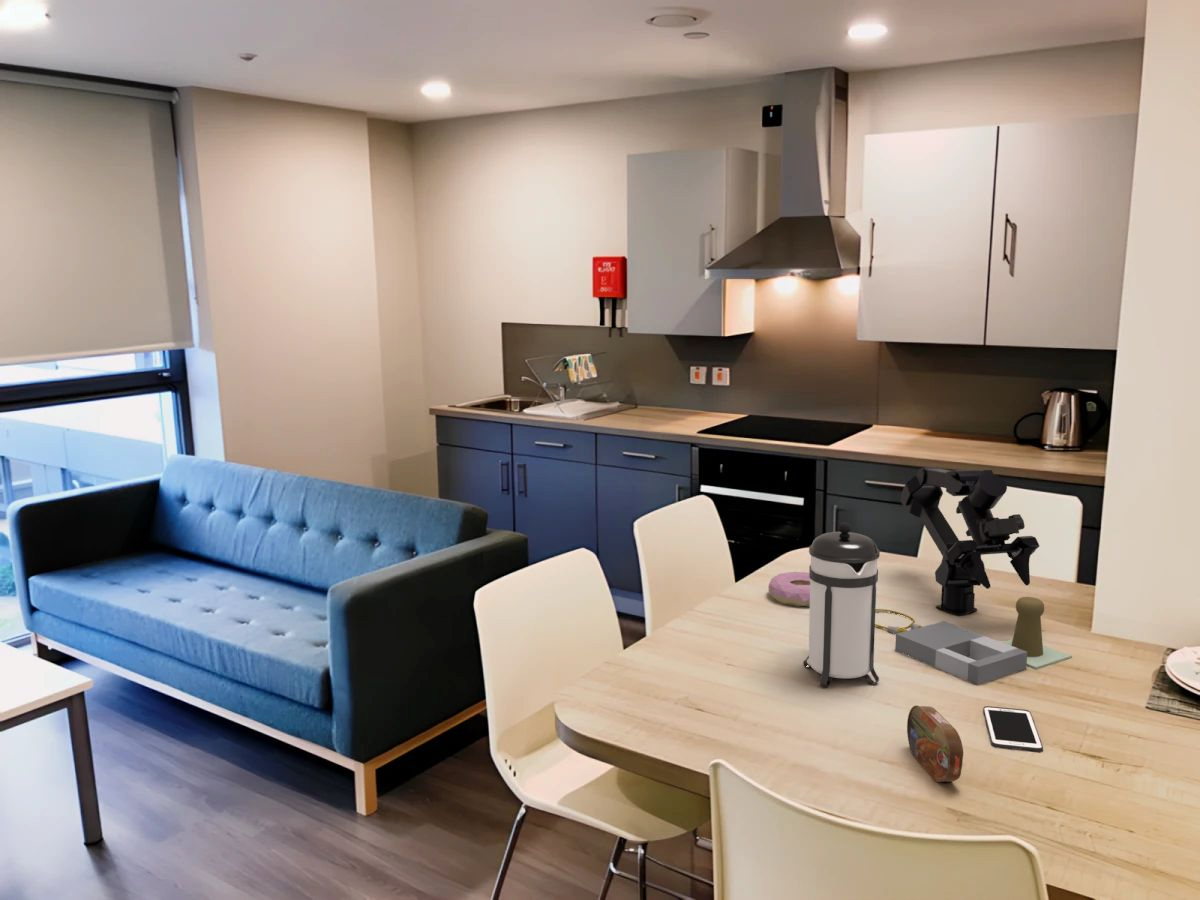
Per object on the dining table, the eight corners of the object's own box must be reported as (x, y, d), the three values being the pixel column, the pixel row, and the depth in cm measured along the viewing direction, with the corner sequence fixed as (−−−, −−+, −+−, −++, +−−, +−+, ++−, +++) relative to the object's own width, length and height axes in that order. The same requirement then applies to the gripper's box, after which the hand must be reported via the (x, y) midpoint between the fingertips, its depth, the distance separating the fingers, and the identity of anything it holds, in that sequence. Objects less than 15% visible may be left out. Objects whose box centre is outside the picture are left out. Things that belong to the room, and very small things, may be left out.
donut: (767, 587, 239) (767, 568, 238) (830, 589, 237) (831, 569, 236) (769, 609, 224) (769, 588, 223) (837, 611, 222) (838, 590, 221)
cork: (1026, 643, 199) (1030, 592, 197) (1050, 654, 193) (1054, 601, 191) (1003, 648, 196) (1007, 596, 195) (1026, 658, 191) (1030, 605, 189)
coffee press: (897, 671, 187) (903, 519, 181) (856, 698, 175) (862, 537, 170) (817, 649, 198) (821, 506, 193) (774, 673, 187) (777, 521, 182)
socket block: (895, 650, 197) (895, 633, 197) (943, 637, 204) (943, 621, 204) (977, 684, 180) (978, 667, 180) (1026, 669, 187) (1027, 651, 186)
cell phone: (991, 749, 157) (991, 743, 156) (982, 710, 171) (982, 705, 170) (1043, 754, 155) (1044, 749, 154) (1029, 715, 169) (1030, 709, 168)
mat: (983, 649, 197) (983, 647, 197) (1019, 638, 203) (1019, 636, 203) (1035, 669, 187) (1036, 667, 187) (1071, 657, 192) (1072, 655, 192)
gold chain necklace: (868, 638, 205) (869, 629, 205) (856, 613, 221) (856, 604, 220) (928, 639, 204) (928, 630, 204) (911, 614, 219) (911, 606, 219)
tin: (904, 745, 158) (906, 696, 156) (923, 744, 158) (925, 695, 157) (944, 793, 143) (947, 739, 142) (965, 792, 143) (968, 738, 142)
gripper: (958, 503, 200) (987, 571, 192) (1037, 498, 204) (1069, 564, 196) (934, 530, 209) (961, 596, 200) (1010, 525, 213) (1039, 589, 205)
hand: (1008, 586), depth 200 cm, fingers open, 9 cm apart
